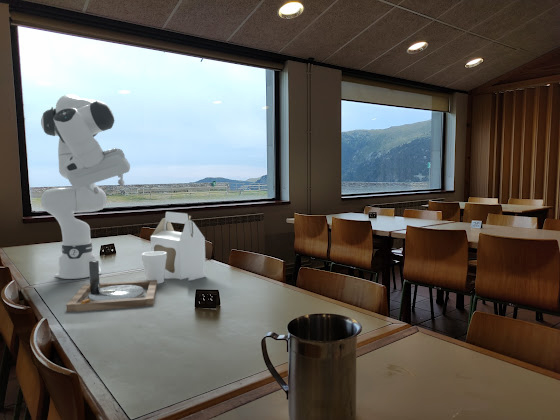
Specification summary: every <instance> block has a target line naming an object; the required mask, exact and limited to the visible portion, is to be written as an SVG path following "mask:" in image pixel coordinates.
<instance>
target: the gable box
mask: <svg viewBox="0 0 560 420" xmlns="http://www.w3.org/2000/svg"><path fill="white" fill-rule="evenodd" d="M191 219H192V215H189V213H187V212H186V213H185V212H176V211H166V212H165V217H163V218H161V220H160V221H159V223H158V224H157V226H156V227H155V229H154V231H153V232H152V233H151V235H150V252H152V251H164V252H167V259H166V265H165V274H164V280H165V279H167V280H168V279H177V280H184V279H188V281H194V280H198V279H201V278H206V272H207V271H206V270H207V269H206V237H205V236H204V235H203V233H202V232H201V230H200V229H199V227H198V226H197V225H196V223H195V222H194V221H192V220H191ZM172 223H174V224H184V226H183V229H182V231H181V232H180V231H176V230H174V227H173V224H172Z"/></svg>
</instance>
